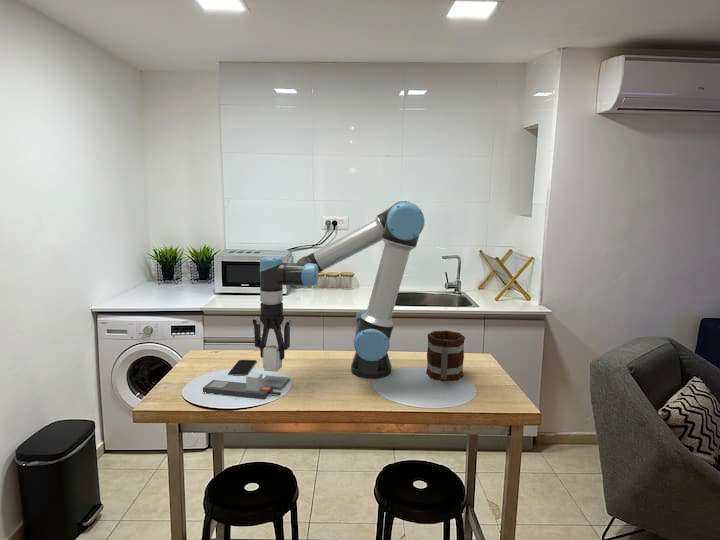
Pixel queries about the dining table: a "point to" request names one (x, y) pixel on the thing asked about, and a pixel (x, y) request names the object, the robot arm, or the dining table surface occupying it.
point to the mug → (445, 356)
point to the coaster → (276, 381)
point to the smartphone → (242, 367)
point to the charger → (270, 358)
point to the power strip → (238, 389)
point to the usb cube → (254, 381)
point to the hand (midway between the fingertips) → (272, 367)
